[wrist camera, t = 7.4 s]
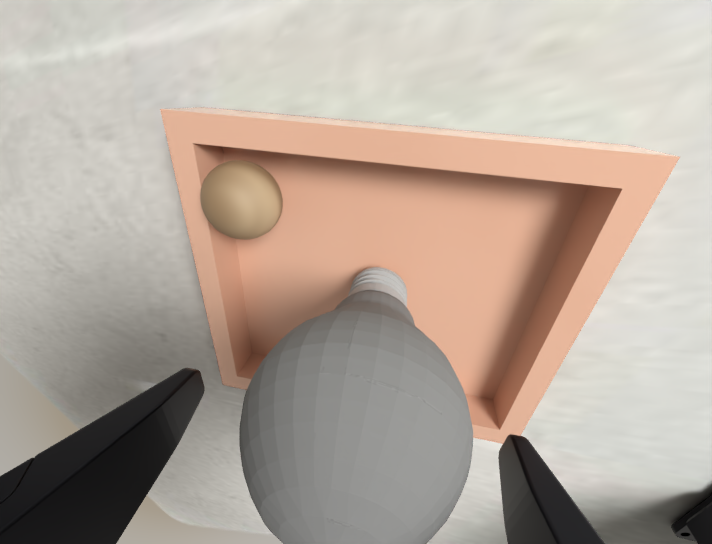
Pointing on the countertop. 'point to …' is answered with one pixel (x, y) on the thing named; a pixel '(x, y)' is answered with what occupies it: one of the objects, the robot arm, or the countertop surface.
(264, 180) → the cork ball
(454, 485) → the light bulb
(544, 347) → the dish
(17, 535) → the robot arm
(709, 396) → the countertop surface
